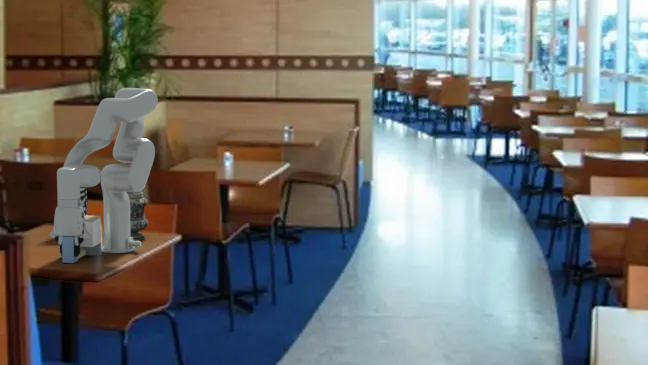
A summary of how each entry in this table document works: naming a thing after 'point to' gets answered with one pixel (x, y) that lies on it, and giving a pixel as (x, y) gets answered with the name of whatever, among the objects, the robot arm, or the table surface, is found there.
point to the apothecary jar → (137, 214)
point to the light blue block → (70, 250)
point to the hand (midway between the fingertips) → (70, 255)
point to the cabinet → (92, 236)
